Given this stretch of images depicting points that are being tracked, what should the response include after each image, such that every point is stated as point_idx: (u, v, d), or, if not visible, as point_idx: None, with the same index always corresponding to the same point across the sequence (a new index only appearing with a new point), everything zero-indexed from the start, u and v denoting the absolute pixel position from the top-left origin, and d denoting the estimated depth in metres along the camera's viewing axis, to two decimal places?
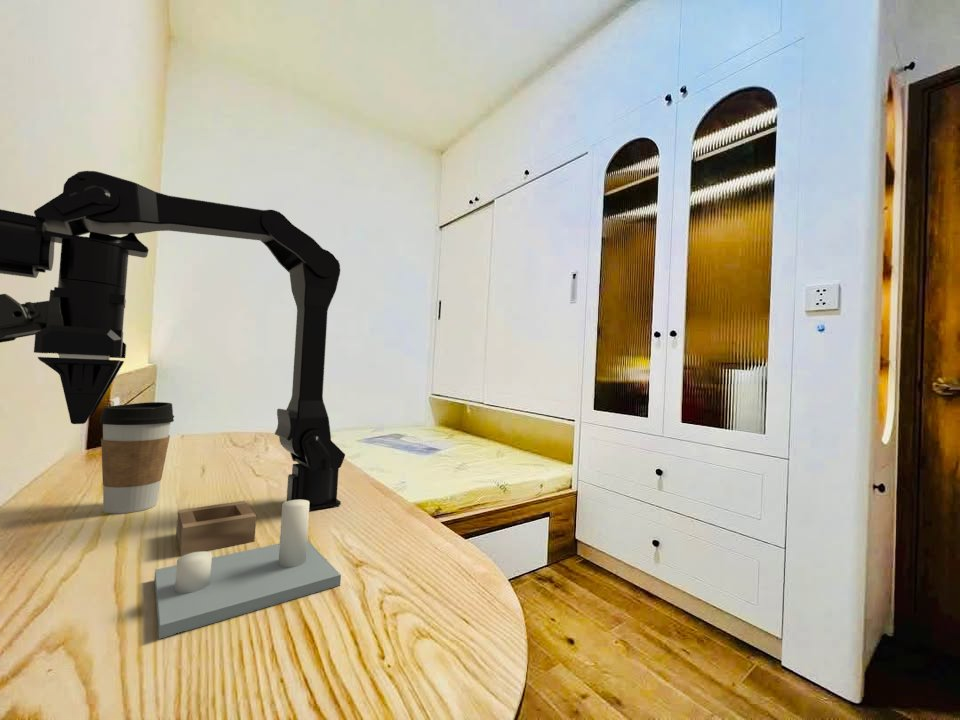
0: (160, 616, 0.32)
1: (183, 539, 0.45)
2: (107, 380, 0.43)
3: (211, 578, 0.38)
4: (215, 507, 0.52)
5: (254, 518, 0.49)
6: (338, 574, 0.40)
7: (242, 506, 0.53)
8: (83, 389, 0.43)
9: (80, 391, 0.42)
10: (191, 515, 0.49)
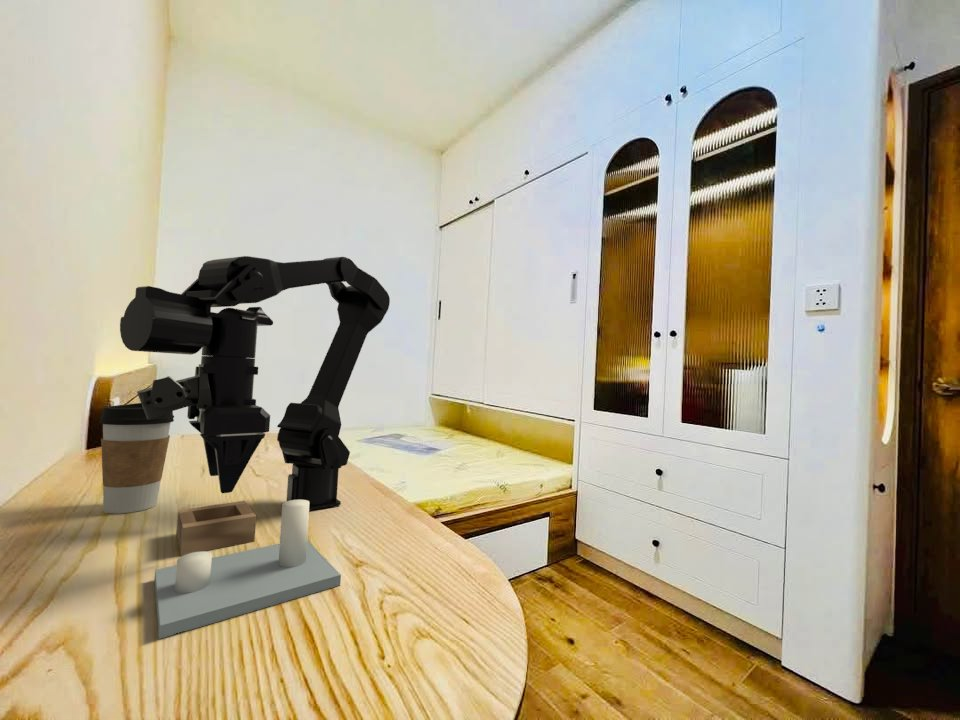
0: (160, 616, 0.32)
1: (183, 539, 0.45)
2: (253, 452, 0.47)
3: (211, 578, 0.38)
4: (215, 507, 0.52)
5: (254, 518, 0.49)
6: (338, 574, 0.40)
7: (242, 506, 0.53)
8: (233, 461, 0.46)
9: (230, 463, 0.46)
10: (191, 515, 0.49)
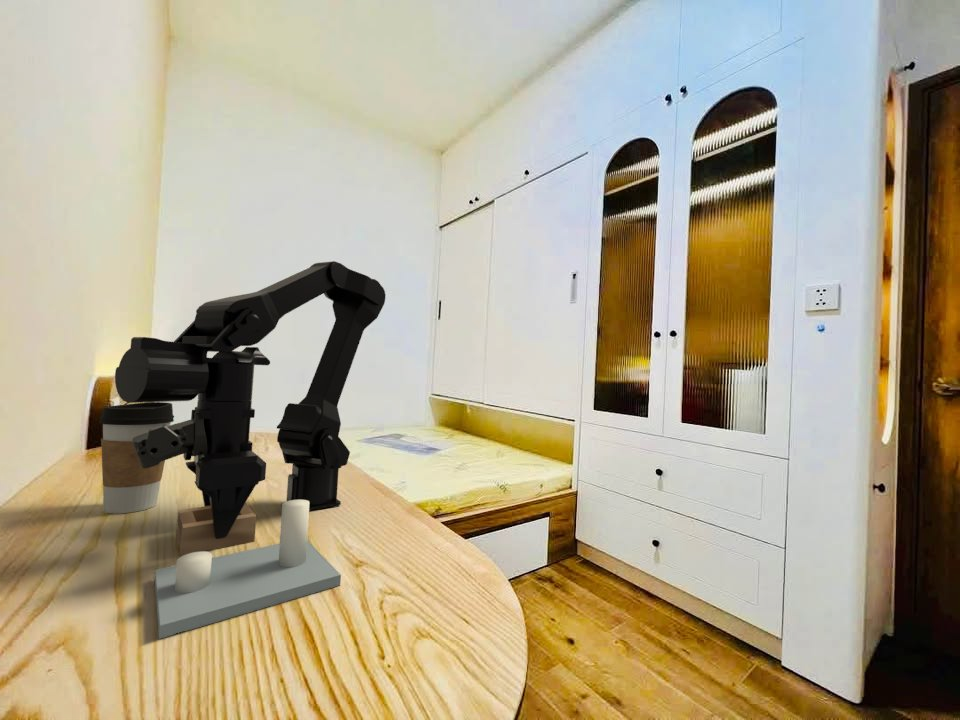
0: (160, 616, 0.32)
1: (183, 539, 0.45)
2: (247, 497, 0.47)
3: (211, 578, 0.38)
4: None
5: (254, 518, 0.49)
6: (338, 574, 0.40)
7: None
8: (227, 507, 0.46)
9: (225, 509, 0.46)
10: (191, 515, 0.49)
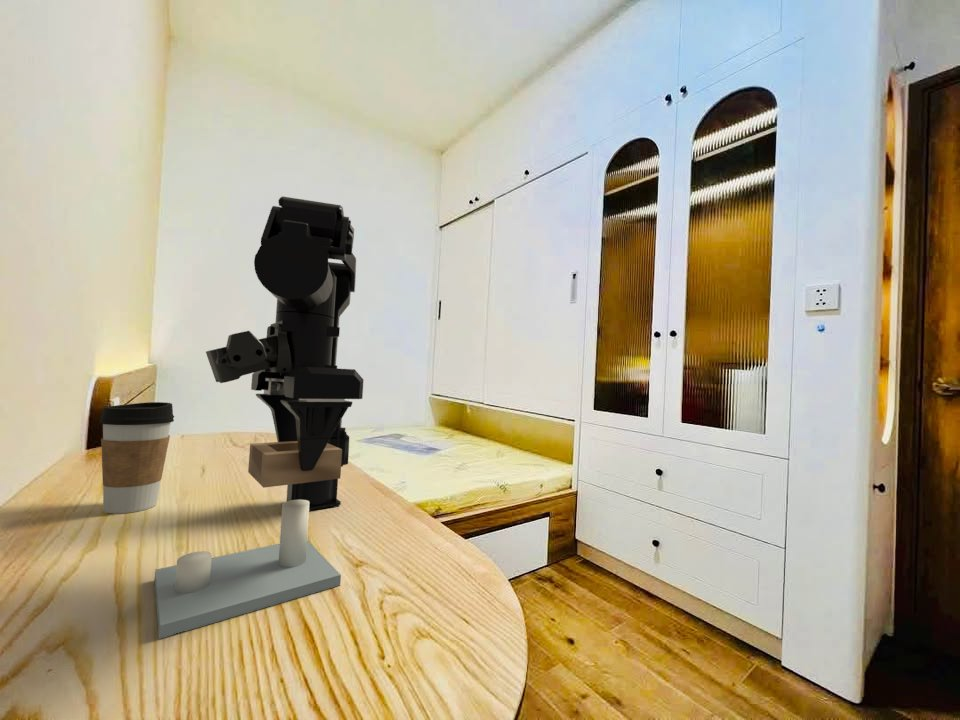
0: (160, 616, 0.32)
1: (266, 468, 0.38)
2: (337, 423, 0.40)
3: (211, 578, 0.38)
4: (290, 443, 0.45)
5: (340, 452, 0.42)
6: (338, 574, 0.40)
7: None
8: (316, 433, 0.39)
9: (313, 436, 0.39)
10: (267, 447, 0.42)
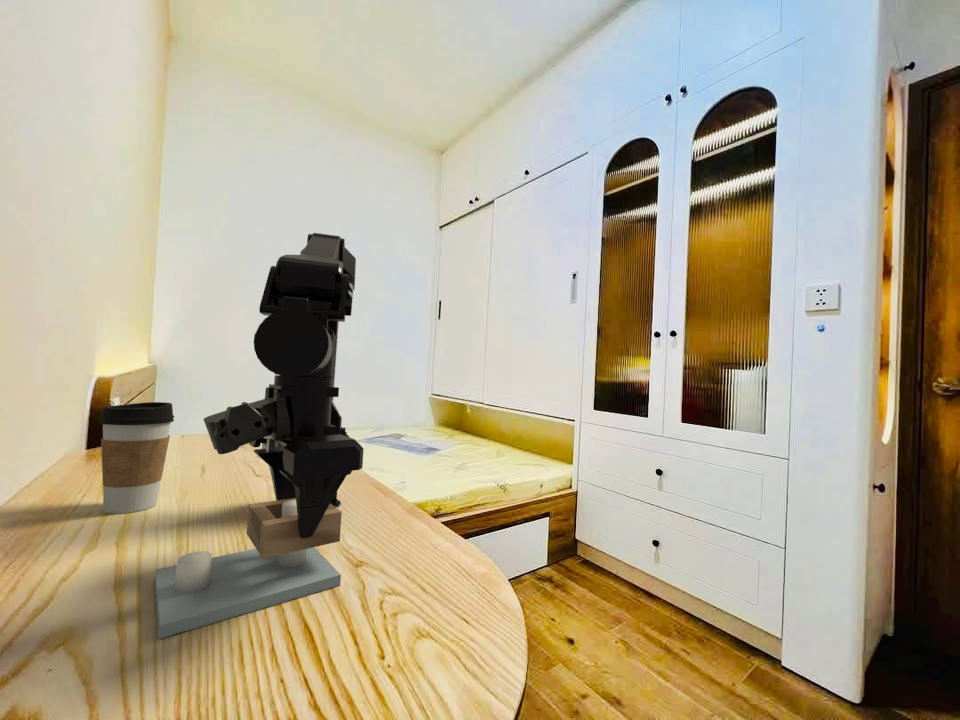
0: (160, 616, 0.32)
1: (265, 539, 0.37)
2: (337, 489, 0.40)
3: (211, 578, 0.38)
4: None
5: (339, 514, 0.42)
6: (338, 574, 0.40)
7: None
8: (315, 501, 0.39)
9: (313, 503, 0.39)
10: (266, 510, 0.41)
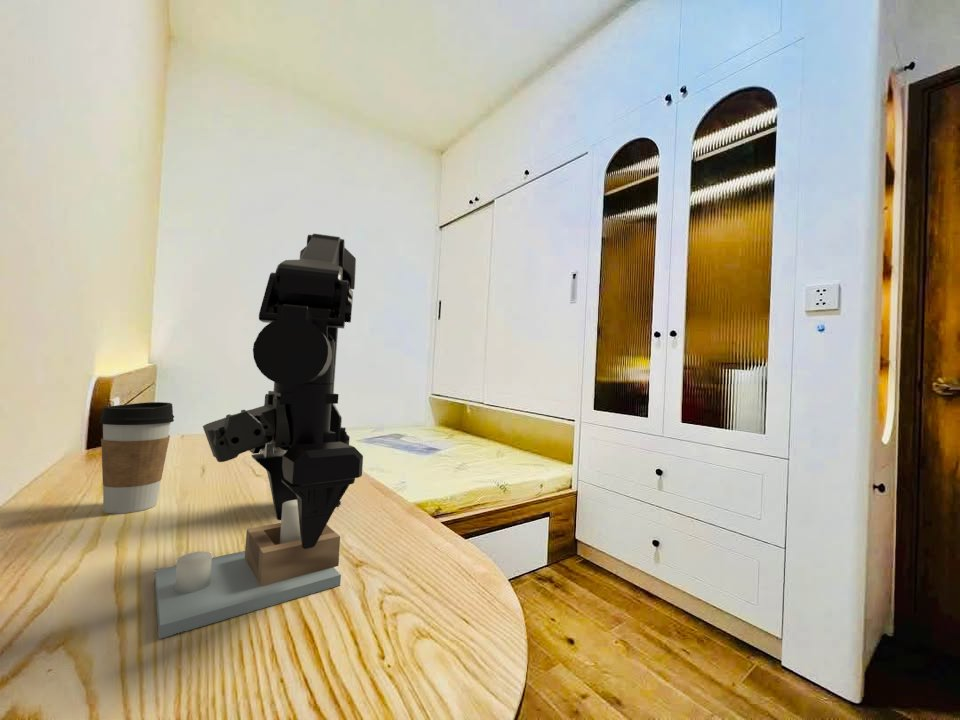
0: (160, 616, 0.32)
1: (263, 567, 0.37)
2: (339, 498, 0.39)
3: (211, 578, 0.38)
4: None
5: (338, 539, 0.42)
6: (338, 574, 0.40)
7: None
8: (318, 511, 0.38)
9: (315, 513, 0.38)
10: (264, 535, 0.41)
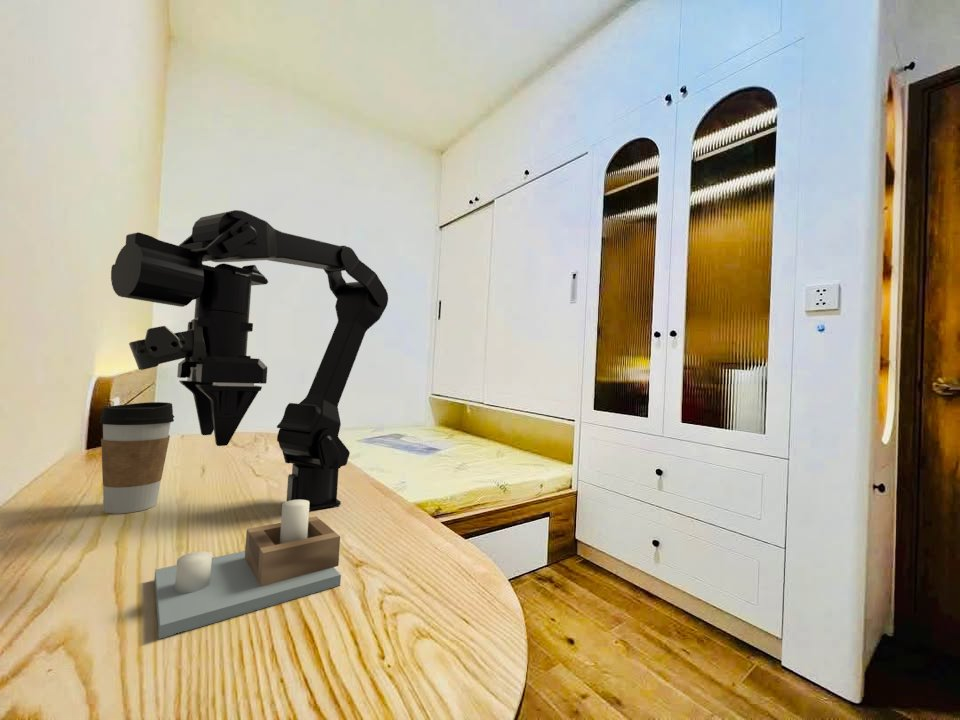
0: (160, 616, 0.32)
1: (263, 567, 0.37)
2: (249, 405, 0.47)
3: (211, 578, 0.38)
4: None
5: (338, 539, 0.42)
6: (338, 574, 0.40)
7: (317, 523, 0.45)
8: (229, 413, 0.46)
9: (226, 415, 0.46)
10: (264, 535, 0.41)
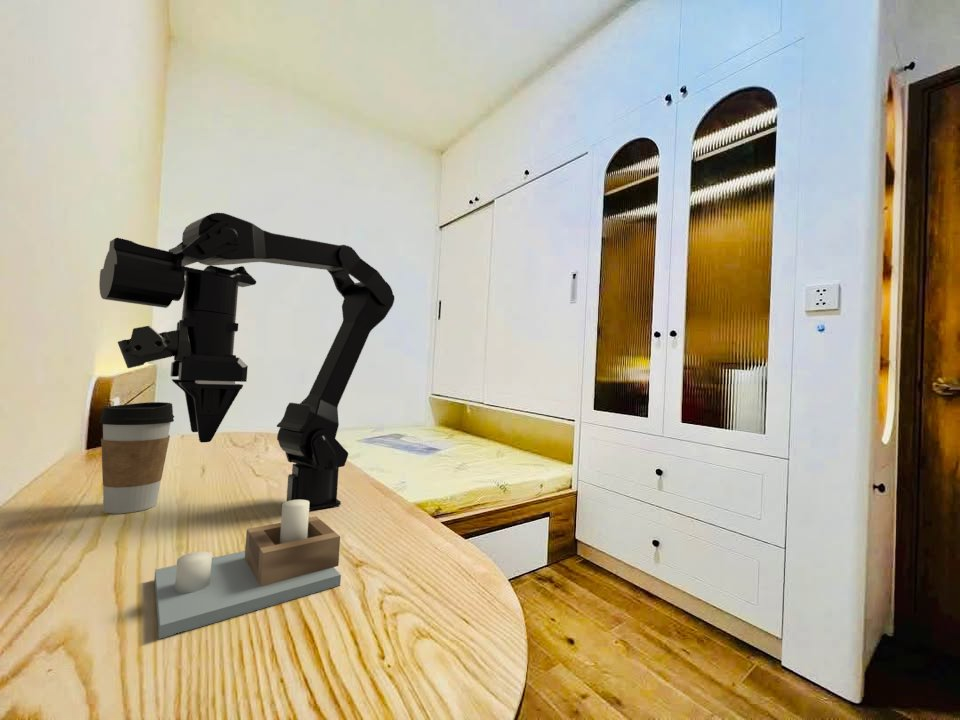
0: (160, 616, 0.32)
1: (263, 567, 0.37)
2: (231, 402, 0.48)
3: (211, 578, 0.38)
4: None
5: (338, 539, 0.42)
6: (338, 574, 0.40)
7: (317, 523, 0.45)
8: (211, 411, 0.47)
9: (209, 413, 0.47)
10: (264, 535, 0.41)
